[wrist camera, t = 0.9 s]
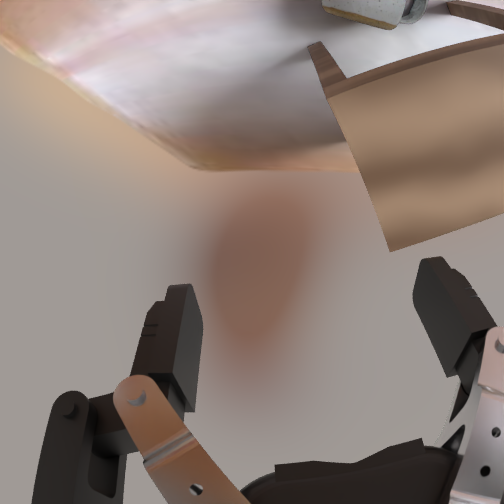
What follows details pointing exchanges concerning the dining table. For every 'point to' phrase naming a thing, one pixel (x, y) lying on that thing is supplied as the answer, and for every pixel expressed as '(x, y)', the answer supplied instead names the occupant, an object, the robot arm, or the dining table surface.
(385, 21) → the ceramic mug
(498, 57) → the brown wooden small table
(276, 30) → the dining table surface
